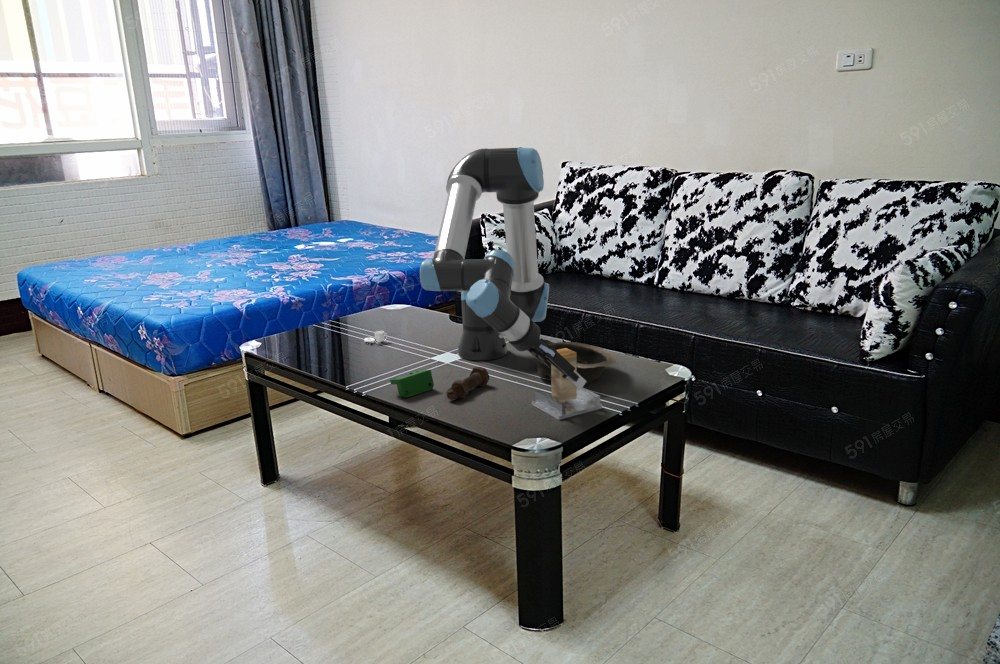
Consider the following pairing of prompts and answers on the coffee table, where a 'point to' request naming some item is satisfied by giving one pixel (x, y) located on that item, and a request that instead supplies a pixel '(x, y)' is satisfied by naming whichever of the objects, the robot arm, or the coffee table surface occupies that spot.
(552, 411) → the keeper bracket
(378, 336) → the teacup and saucer
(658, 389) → the coffee table surface
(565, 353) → the block
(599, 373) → the stone bowl
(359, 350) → the coffee table surface
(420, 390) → the green notched mounting bracket
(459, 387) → the bolt
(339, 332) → the coffee table surface
